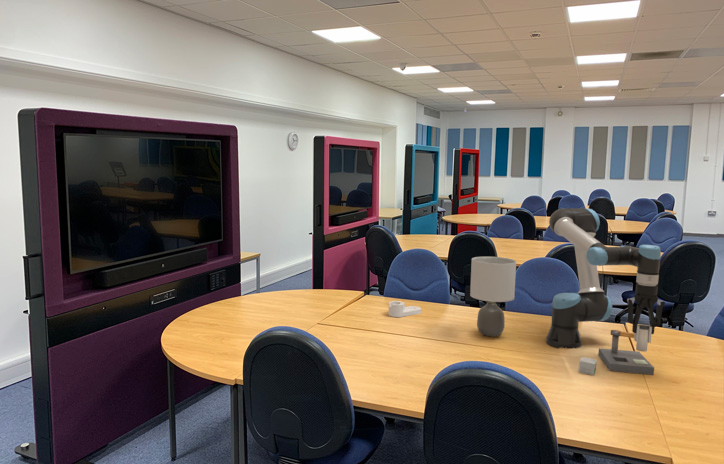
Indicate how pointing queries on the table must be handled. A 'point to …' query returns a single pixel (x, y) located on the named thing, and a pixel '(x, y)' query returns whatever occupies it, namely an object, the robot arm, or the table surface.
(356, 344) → the table surface
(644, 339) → the plug
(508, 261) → the lamp
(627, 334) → the clip
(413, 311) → the bracket
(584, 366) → the small box
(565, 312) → the robot arm
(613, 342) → the socket plate
